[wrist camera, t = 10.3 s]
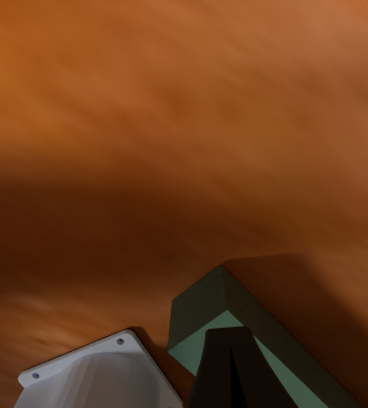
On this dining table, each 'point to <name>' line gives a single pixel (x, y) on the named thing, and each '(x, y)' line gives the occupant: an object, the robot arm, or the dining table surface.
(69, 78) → the dining table surface
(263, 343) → the dark green rectangular beam
